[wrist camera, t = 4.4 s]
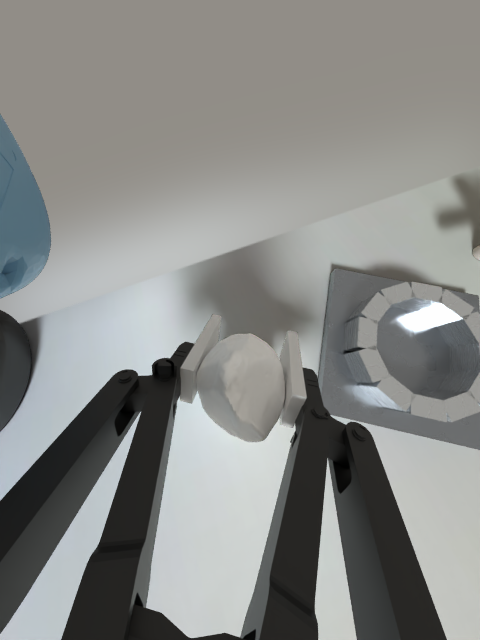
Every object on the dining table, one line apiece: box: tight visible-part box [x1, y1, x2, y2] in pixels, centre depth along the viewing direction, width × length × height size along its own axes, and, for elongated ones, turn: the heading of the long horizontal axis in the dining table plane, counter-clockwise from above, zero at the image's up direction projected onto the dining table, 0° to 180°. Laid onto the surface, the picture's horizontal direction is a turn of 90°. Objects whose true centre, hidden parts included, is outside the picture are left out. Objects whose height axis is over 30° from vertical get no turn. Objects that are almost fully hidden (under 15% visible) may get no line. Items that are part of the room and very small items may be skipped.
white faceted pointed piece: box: [196, 333, 285, 442], centre depth 14 cm, size 6×12×6 cm
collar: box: [318, 268, 480, 450], centre depth 19 cm, size 14×14×4 cm
